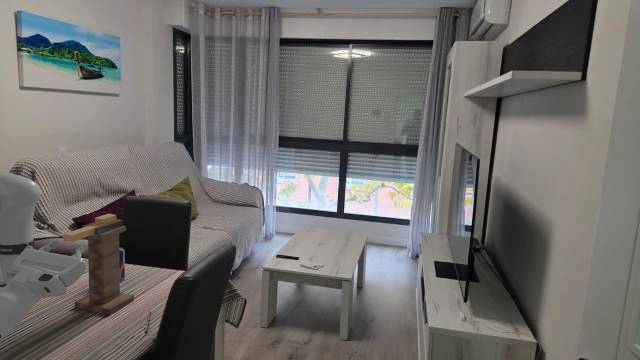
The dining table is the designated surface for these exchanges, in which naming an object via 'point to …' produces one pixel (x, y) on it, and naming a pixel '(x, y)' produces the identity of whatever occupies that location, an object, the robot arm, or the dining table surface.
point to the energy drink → (122, 263)
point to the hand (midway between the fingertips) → (68, 244)
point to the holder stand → (104, 271)
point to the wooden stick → (89, 228)
